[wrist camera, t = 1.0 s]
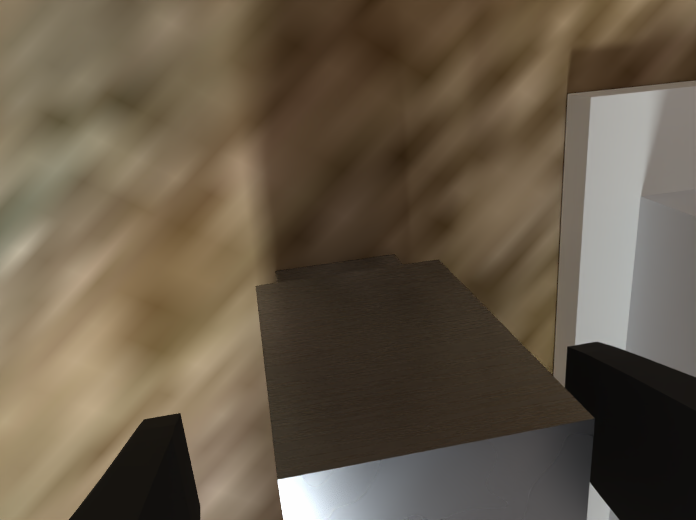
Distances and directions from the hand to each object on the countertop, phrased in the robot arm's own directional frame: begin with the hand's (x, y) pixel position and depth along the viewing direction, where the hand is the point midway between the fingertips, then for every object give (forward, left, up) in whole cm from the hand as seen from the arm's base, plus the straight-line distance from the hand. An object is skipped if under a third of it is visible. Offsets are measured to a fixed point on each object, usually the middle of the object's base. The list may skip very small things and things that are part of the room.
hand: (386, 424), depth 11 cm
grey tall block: (0, 0, -5) cm, 5 cm away
